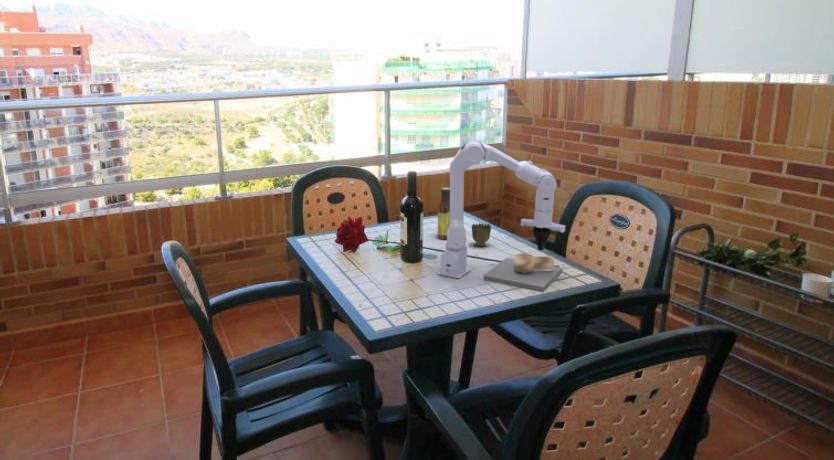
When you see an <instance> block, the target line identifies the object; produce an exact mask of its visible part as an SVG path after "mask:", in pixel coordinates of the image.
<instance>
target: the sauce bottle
mask: <svg viewBox="0 0 834 460" xmlns="http://www.w3.org/2000/svg"><path fill="white" fill-rule="evenodd" d="M440 191H441V196H440V197H441V200H440V201H439V203H438V207H437V210H438V211H437V238H438V239H440V240H446V241H447V229H448V227H449V225H450V187H441V189H440Z"/></svg>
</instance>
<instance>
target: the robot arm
mask: <svg viewBox="0 0 834 460" xmlns="http://www.w3.org/2000/svg"><path fill="white" fill-rule="evenodd" d="M491 161H493V162H495V163H498V164H500V165H501V166H504V167H505V168H508V169H509V170H512V171H514V175H515V177H516V178H518V179H520V180H522V181H524V182H526V183H527V184H530V185H532V186H536V193H535V201H534V203H535V204H534V215H533V216H534V217H533V219H532V218H531V219H530V218H529V219H528V218H522V219H520V226H521V227H524V226H525V227H532V230H531V232H532V233H533V236H534V238H535V241H536V245H537V250H538V251H544V249H545V247H546V243H547V241H548V239H549V237H550V234H551V233H552V232H560V233H562V234H563V233H565V231H566V225H564V224H561V223H556V222H553V213H554V212H553V211H554V203H555V202H554V200H555V195H554V193H555V190H556V189H557V187H558V184H557V180H556V178H555V177H554V176H553V174H552V173H550V172H549V171H548V170H546V169H545V168H540V167H538V166H536V165H534V164H533V161H530V160H528V161H526V160H523V161H518V160H517V159H515V158H513V157H511V156H510V155H508V154H506V153H504V152H502V151H501V150H499V149H498V148H495V147H493V146H491V145H489V144H488V143H485V142H481V141H480V140H477V139H469V140H467V141H466V142H465V143H463V144H462V145H461V146H460V147H459V149H458V151H457V152H456V154H455V155H454V157H453V158H452V160H451V162H450V163H449V188H450V225H449V227H448V229H447V240H446V243H445V249H444V251H443V253H442V254H441V255H440V265H439V266H440V268H439V269H440V270H439V271H438V272H437V274H438V275H440V276H446V277H451V278H456V279H460V278H462V277H463V276H465V275H466V274H467V273H469V272H470V271H471V270H472V269H471V268H469V267H467V263H468V261H467V260H468V259H467V258H468V257H467V256H468V244H467V233H466V232H467V231H466V228H465V226H464V202H465V201H464V199H465V198H464V197H465V196H464V193H465V192H464V190H465V189H464V187H465V186H464V184H465V181H464V180H465V179H464V178H465V177H464V175H465V172H466V171H467V170H469V168H470V167H472V166H474V165H477V164H479V163H481V162H485V163H486V162H491Z"/></svg>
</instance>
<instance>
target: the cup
mask: <svg viewBox="0 0 834 460" xmlns="http://www.w3.org/2000/svg"><path fill="white" fill-rule="evenodd" d="M491 230H492V226H491V225H490V223H488V224H487V223H483V222H482V223H481V222H479V223H473V224H471V235H472V239H473V241H474V242H475V245H476V246H477V247H480V248H481V247H482V248H483V247H486V244H487V242H488V241H489V239H490V237H491Z"/></svg>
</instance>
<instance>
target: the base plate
mask: <svg viewBox="0 0 834 460" xmlns="http://www.w3.org/2000/svg"><path fill="white" fill-rule="evenodd" d="M514 260H515V258H511V257H505V258H504V259H503V260H501V261H500V262H499V263H497V264H496V265H495V266H494V267H492V268H491V269H490V270H488V272H486V273H485V274H484V275H483V281H487V282H492V283H497V284H502V285H508V286H513V287H517V288H521V289H522V288H523V289H527V290H532V291H537V292H542V293H543V292H544V291H546V290H547V288H548V287H549V286H550V285H551V284H552V283H553V282H554V281H555V280H556V279H557V278H558V277H559V276H560V275H561V274H562V273H563V267H560V266H554V265H553V268H534V270H533V271H531V272H520V271H516V270H515V269H514Z"/></svg>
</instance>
